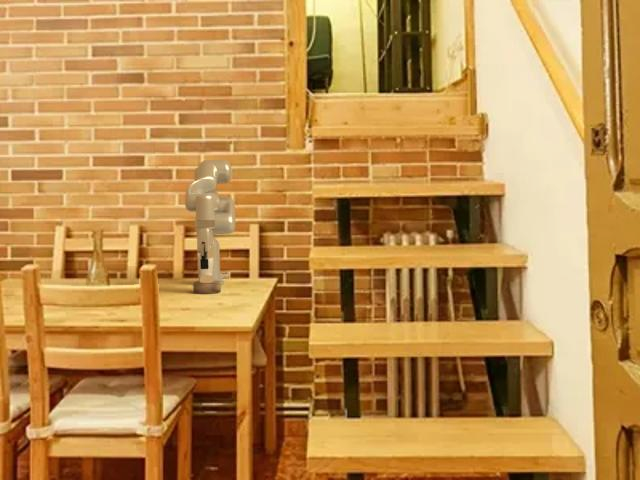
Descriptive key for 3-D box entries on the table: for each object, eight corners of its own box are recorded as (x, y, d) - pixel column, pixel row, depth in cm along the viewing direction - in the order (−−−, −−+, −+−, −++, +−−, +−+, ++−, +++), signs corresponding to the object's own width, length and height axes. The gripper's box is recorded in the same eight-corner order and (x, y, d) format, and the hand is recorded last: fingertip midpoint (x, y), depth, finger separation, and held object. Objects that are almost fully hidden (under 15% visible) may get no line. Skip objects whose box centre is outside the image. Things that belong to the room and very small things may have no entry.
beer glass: (194, 283, 290) (194, 246, 289) (203, 280, 297) (203, 245, 296) (209, 283, 288) (208, 247, 287) (218, 281, 294) (217, 245, 293)
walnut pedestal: (209, 289, 301) (209, 279, 300) (226, 291, 293) (225, 282, 293) (188, 292, 293) (187, 282, 292) (204, 295, 285) (204, 285, 285)
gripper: (200, 223, 299) (201, 265, 301) (191, 226, 282) (192, 270, 284) (218, 223, 299) (219, 265, 301) (210, 226, 282) (211, 270, 283)
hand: (206, 267), depth 292 cm, fingers open, 7 cm apart
